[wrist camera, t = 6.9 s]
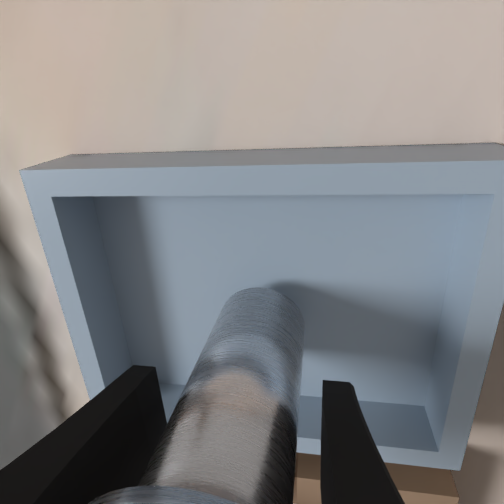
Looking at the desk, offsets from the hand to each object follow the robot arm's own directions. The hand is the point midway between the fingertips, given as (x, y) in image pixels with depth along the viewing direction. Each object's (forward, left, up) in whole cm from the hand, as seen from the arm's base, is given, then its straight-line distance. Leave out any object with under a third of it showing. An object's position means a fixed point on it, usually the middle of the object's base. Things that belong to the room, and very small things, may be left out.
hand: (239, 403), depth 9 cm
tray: (0, 0, -5) cm, 5 cm away
